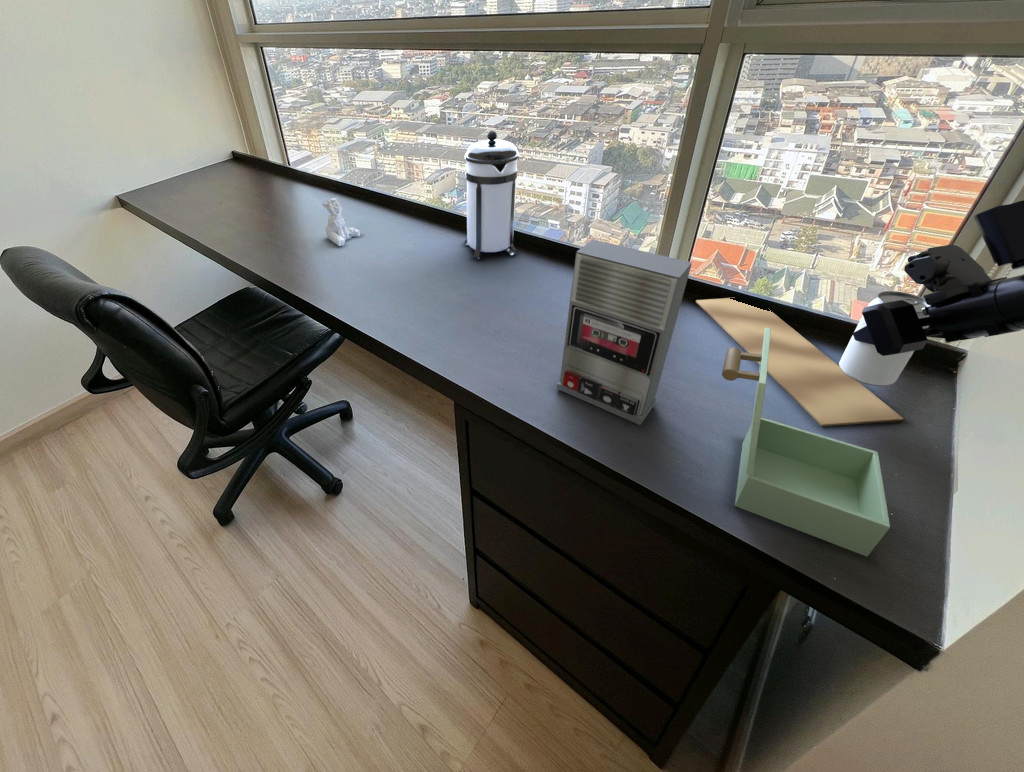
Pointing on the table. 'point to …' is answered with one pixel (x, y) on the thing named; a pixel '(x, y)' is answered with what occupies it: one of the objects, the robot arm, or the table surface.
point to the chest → (815, 486)
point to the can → (864, 358)
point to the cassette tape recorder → (620, 326)
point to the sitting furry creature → (338, 223)
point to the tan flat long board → (800, 366)
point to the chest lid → (733, 373)
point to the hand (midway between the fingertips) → (874, 333)
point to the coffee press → (491, 195)
